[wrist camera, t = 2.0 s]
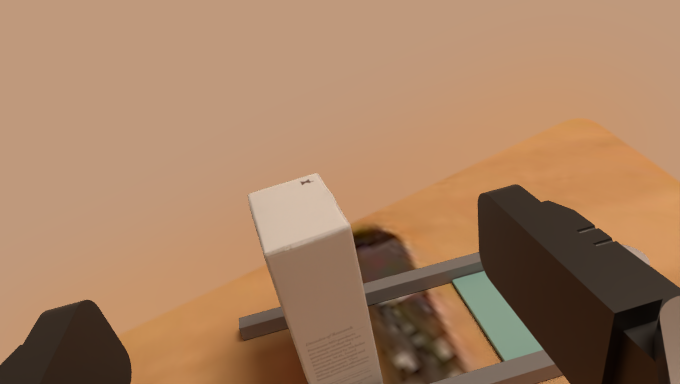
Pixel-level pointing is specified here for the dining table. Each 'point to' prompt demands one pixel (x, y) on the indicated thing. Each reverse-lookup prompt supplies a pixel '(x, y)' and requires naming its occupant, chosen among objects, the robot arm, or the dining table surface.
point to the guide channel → (482, 300)
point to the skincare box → (317, 280)
